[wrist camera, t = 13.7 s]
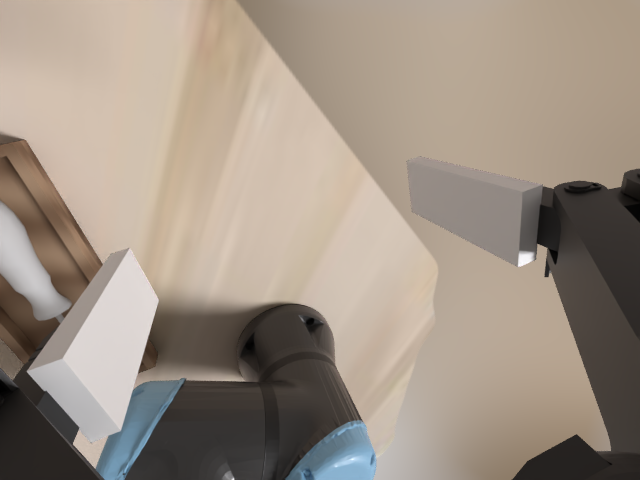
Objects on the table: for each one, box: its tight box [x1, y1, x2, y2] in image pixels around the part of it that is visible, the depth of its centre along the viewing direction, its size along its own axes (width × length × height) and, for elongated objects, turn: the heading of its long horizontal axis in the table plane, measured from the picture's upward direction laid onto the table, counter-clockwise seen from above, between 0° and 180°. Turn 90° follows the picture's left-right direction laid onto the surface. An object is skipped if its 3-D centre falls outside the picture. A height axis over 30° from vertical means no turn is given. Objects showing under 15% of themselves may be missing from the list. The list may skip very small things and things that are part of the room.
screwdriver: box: [0, 200, 72, 324], centre depth 35 cm, size 5×25×4 cm, turn 11°
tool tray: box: [0, 140, 158, 373], centre depth 36 cm, size 30×12×2 cm, turn 14°
